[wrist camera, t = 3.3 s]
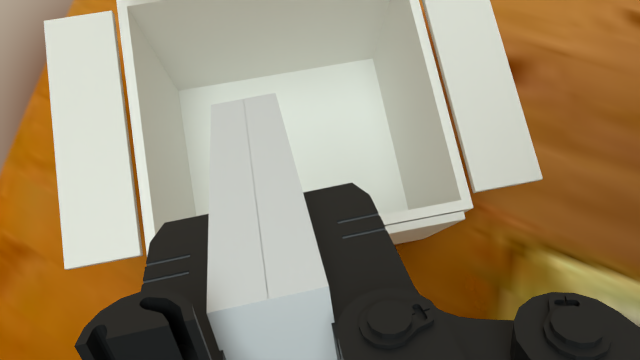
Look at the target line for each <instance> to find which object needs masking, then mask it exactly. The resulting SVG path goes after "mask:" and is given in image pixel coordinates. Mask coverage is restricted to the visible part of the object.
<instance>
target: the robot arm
mask: <svg viewBox="0 0 640 360" xmlns="http://www.w3.org/2000/svg"><path fill="white" fill-rule="evenodd" d="M146 264H147V267H145V272H144V277H143V282H144V284H143V285H142V288H141V292H139V293H136V294H133V295H130V296H127V297H124V298H121V299H119V300H118V301H116V302H115V303H113V304H111V305H110V306H108V307H106V308H105V309H103V310H102V311H100V312H99V313H98V314H97V315H96V316H95V317H94V318H93V319H92V320H91V321H90V322H89V323H88V324H87V325H86V326H85V327H84V329H83V331H82V333H81V335H80V336H79V338H78V340H77V342H76V344H75V348H76V350H77V351H78V353H79V355H80V357H81V358H82V360H640V328H639V327H638V326H637V325H635V324H634V323H633V322H631V321H630V320H629V319H627V318H626V317H625V316H623V315H622V314H621V313H619V312H618V311H616V310H615V309H613V308H611V307H609V306H607V305H606V304H604V303H602V302H600V301H599V300H597V299H593V298H590V297H586V296H583V295H579V294H576V293H559V292H551V293H547V294H543V295H539V296H536V297H532V298H531V299H530V300H528V301H527V302H526V303H525V304H523V305H522V306H521V307H519V309H518V312H517V314H516V317H515V319H514V321H512V320H488V319H472V318H465V317H458V316H455V315H452V314H449V313H446V312H443V311H441V310H439V309H438V308H436V307H435V306H434V304H433V303H432V302H431V301H430V300H428V299H426V298H425V297H423V296H421V295H420V294H419V293H418V291H417V290H416V288H415V287H414V285H413V283H412V281H411V279H410V277H409V275H408V273H407V271H406V269H405V266H404V264H403V262H402V260H401V258H400V256H399V254H398V252H397V250H396V248H395V246H394V244H393V242H392V240H391V238H390V235H389V233H388V231H387V230H386V229H385V225H384V223H383V221H382V219H381V217H380V216H379V214H378V211H377V209H376V207H375V204H374V202H373V200H372V198H371V196H370V195H369V194H368V193H366V192H365V191H364V190H362V189H361V188H359V187H358V186H356V185H355V184H354V183H347V184H342V185H337V186H332V187H328V188H323V189H318V190H313V191H308V192H303V191H302V187H301V184H300V180H299V176H298V173H297V169H296V165H295V162H294V158H293V154H292V151H291V147H290V144H289V140H288V136H287V133H286V129H285V125H284V122H283V118H282V115H281V111H280V107H279V104H278V100H277V96H276V93H272V94H266V95H261V96H255V97H250V98H245V99H239V100H234V101H229V102H223V103H218V104H213V105H211V131H210V176H209V214H205V215H200V216H195V217H190V218H185V219H180V220H175V221H170V222H166V223H164V224H163V225H162V227H161V228H160V229H159V231H158V232H157V233H156V235H155V236H154V237H153V239H152V240H151V242H150V244H149V250H148V255H147V261H146Z"/></svg>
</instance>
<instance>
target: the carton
mask: <svg viewBox="0 0 640 360" xmlns="http://www.w3.org/2000/svg"><path fill="white" fill-rule="evenodd" d="M116 1H117V9H118V18H119V26H120V34H121V43H122V51H123V59H124V68H125V76H126V84H127V93H128V101H129V109H130V118H131V126H132V135H133V143H134V151H135V160H136V168H137V176H138V185H139V193H140V201H141V210H142V218H143V226H144V235H145V243H146V251H147V255H148V250H149V244H150V242H151V240H152V239H153V237H154V236H155V235H156V233H157V232H158V231H159V229H160V228H161V227H162V225H163V224H164V223H166V222H170V221H175V220H180V219H185V218H190V217H195V216H200V215H205V214H209V176H210V131H211V105H213V104H218V103H223V102H229V101H234V100H239V99H245V98H250V97H255V96H261V95H266V94H272V93H276V96H277V100H278V104H279V107H280V111H281V115H282V118H283V122H284V125H285V129H286V133H287V136H288V140H289V144H290V147H291V151H292V154H293V158H294V162H295V165H296V169H297V173H298V176H299V180H300V184H301V187H302V191H303V192H308V191H313V190H318V189H323V188H328V187H332V186H337V185H342V184H347V183H354V184H355V185H356V186H358V187H359V188H361V189H362V190H364V191H365V192H366V193H368V194H369V195H370V196H371V198H372V200H373V202H374V204H375V207H376V209H377V211H378V214H379V216H380V217H381V219H382V221H383V223H384V225H385V229H386V230H387V231H388V233H389V235H390V238H391V240H392V242H393V244H394V245H395V244H400V243H405V242H410V241H415V240H420V239H425V238H427V237H429V236H431V235H433V234H435V233H437V232H439V231H441V230H443V229H446V228H448V227H450V226H452V225H454V224H456V223H458V222H460V221H462V220H464V219H465V215H464V213H465V212H467V211H468V210H470V209H472V208H473V204H472V200H471V197H470V193H469V189H468V185H467V181H466V178H465V174H464V170H463V166H462V163H461V159H460V155H459V151H458V147H457V144H456V140H455V136H454V132H453V128H452V125H451V121H450V117H449V113H448V109H447V106H446V102H445V98H444V94H443V91H442V87H441V83H440V79H439V75H438V72H437V68H436V64H435V60H434V56H433V53H432V49H431V45H430V41H429V37H428V34H427V30H426V26H425V22H424V19H423V15H422V11H421V7H420V3H419V0H116ZM422 2H423V6H424V10H425V14H426V18H427V21H428V25H429V29H430V33H431V36H432V40H433V44H434V48H435V51H436V55H437V59H438V63H439V66H440V70H441V74H442V78H443V82H444V85H445V89H446V93H447V97H448V100H449V104H450V108H451V112H452V115H453V119H454V123H455V127H456V131H457V134H458V138H459V142H460V146H461V149H462V153H463V157H464V161H465V164H466V168H467V172H468V176H469V180H470V183H471V187H472V191H473V193H477V192H482V191H487V190H493V189H498V188H503V187H508V186H514V185H519V184H524V183H530V182H535V181H540V180H542V179H543V178H542V174H541V171H540V168H539V164H538V161H537V158H536V154H535V151H534V147H533V144H532V141H531V137H530V134H529V131H528V127H527V124H526V121H525V117H524V114H523V111H522V107H521V104H520V100H519V97H518V94H517V90H516V87H515V84H514V80H513V77H512V74H511V70H510V67H509V64H508V60H507V57H506V53H505V50H504V47H503V43H502V40H501V37H500V33H499V30H498V27H497V23H496V20H495V16H494V13H493V10H492V6H491V3H490V0H422ZM44 29H45V41H46V53H47V65H48V77H49V89H50V101H51V112H52V124H53V136H54V148H55V160H56V172H57V184H58V195H59V207H60V219H61V231H62V243H63V255H64V267H65V269H66V270H70V269H75V268H81V267H86V266H91V265H97V264H102V263H107V262H112V261H118V260H123V259H128V258H133V257H139V256H143V253H142V244H141V236H140V227H139V219H138V210H137V202H136V193H135V185H134V176H133V168H132V159H131V151H130V142H129V134H128V126H127V117H126V109H125V100H124V92H123V83H122V75H121V66H120V58H119V49H118V41H117V32H116V24H115V15H114V13H113V12H112V11H106V12H99V13H93V14H86V15H80V16H73V17H67V18H61V19H55V20H48V21H44Z"/></svg>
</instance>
